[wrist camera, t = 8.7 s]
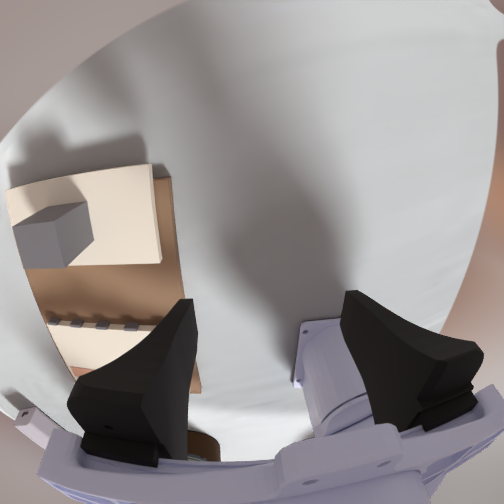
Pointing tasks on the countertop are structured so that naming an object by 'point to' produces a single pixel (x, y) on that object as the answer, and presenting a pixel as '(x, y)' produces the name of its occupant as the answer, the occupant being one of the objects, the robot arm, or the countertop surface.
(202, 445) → the olive oil
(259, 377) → the countertop surface
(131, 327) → the ticket
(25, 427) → the charger
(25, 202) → the stub
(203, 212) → the countertop surface
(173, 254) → the board
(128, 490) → the robot arm
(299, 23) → the countertop surface
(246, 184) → the countertop surface
